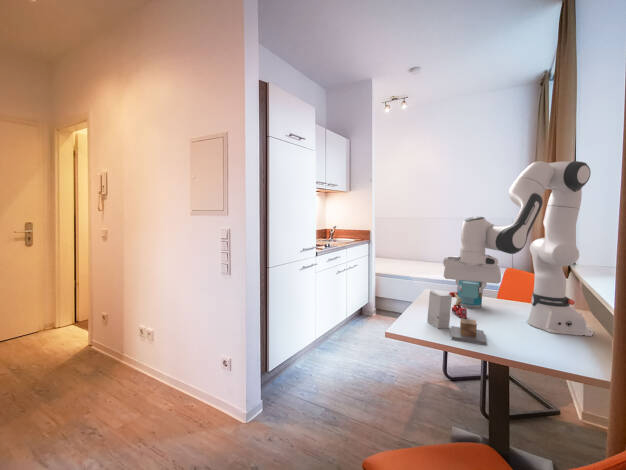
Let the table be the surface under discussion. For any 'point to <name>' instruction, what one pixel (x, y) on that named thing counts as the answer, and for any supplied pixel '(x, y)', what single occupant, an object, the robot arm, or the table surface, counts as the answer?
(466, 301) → the food can
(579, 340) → the table surface
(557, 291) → the robot arm
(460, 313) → the toy fire truck
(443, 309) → the skincare box
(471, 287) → the teal block
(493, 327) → the table surface
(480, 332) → the baseplate
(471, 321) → the walnut brick
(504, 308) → the table surface
